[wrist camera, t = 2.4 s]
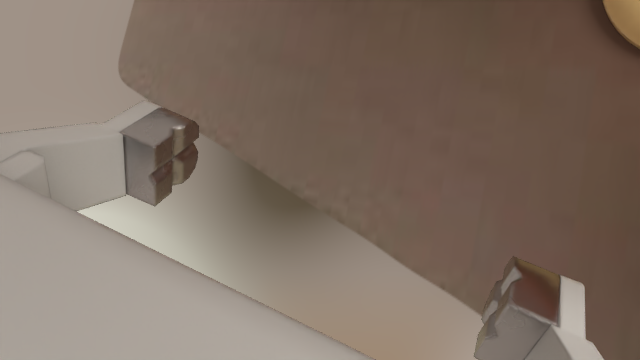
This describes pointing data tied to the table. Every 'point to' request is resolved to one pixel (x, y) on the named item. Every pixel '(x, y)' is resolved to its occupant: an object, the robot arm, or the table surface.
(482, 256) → the table surface
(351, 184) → the table surface
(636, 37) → the trivet
